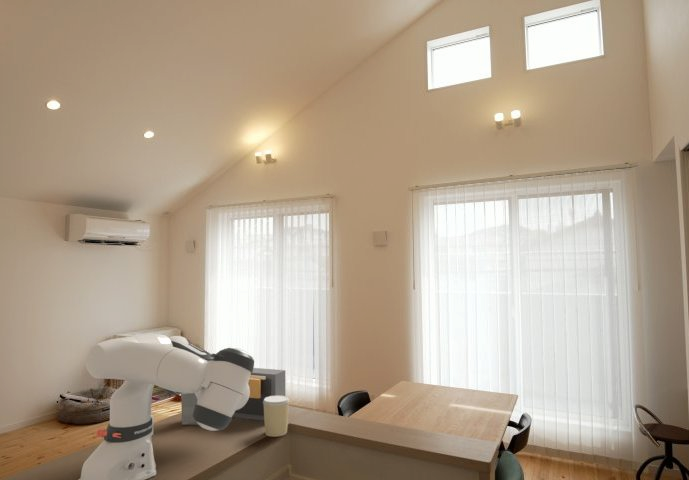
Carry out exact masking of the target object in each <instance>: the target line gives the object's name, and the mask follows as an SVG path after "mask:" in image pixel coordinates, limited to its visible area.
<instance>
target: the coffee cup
mask: <svg viewBox="0 0 689 480" xmlns="http://www.w3.org/2000/svg"><path fill="white" fill-rule="evenodd" d="M289 403H290V399H289V397H288V396H286V395H285V396H280V395H277V396H269V397H266V398H265V399H264V401H263V404H264V421H263V422H264V432H265V435H266V436H267V437H272V438H274V437H281V436H284V435H286V434H287V433H288V426H289V425H288V422H289V421H288V420H289V407H290V406H289Z"/></svg>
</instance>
